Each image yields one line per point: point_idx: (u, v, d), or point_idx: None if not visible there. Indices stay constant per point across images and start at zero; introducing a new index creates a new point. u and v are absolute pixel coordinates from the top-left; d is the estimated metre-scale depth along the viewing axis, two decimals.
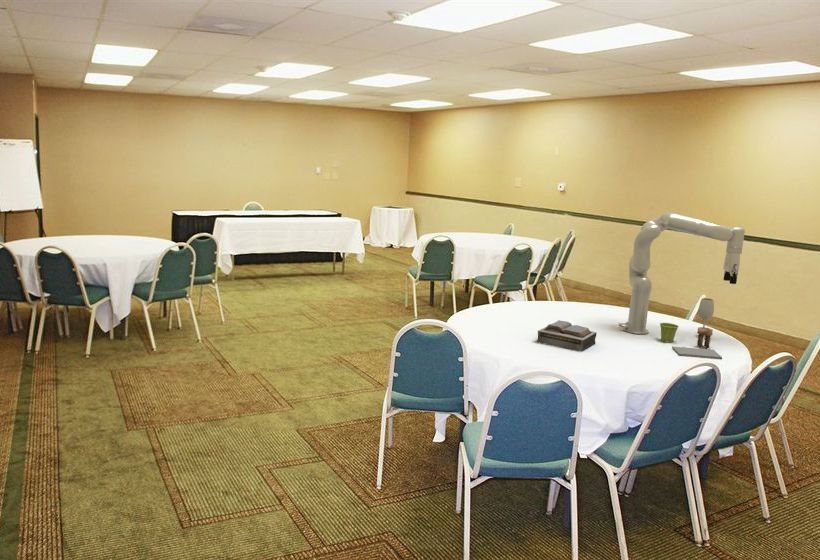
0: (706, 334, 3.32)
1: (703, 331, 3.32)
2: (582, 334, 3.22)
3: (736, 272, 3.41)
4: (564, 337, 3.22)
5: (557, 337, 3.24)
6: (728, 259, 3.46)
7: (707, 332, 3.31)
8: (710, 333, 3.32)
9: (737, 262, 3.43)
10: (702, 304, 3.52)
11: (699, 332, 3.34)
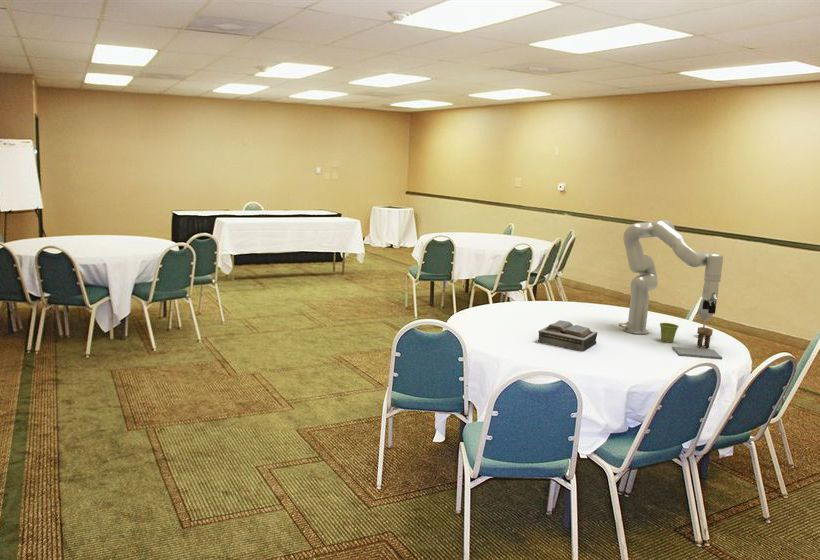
0: (706, 334, 3.32)
1: (703, 331, 3.32)
2: (583, 334, 3.22)
3: (715, 301, 3.24)
4: (565, 337, 3.22)
5: (558, 337, 3.24)
6: (706, 287, 3.29)
7: (707, 332, 3.31)
8: (710, 333, 3.32)
9: (716, 291, 3.26)
10: (702, 304, 3.52)
11: (699, 332, 3.34)
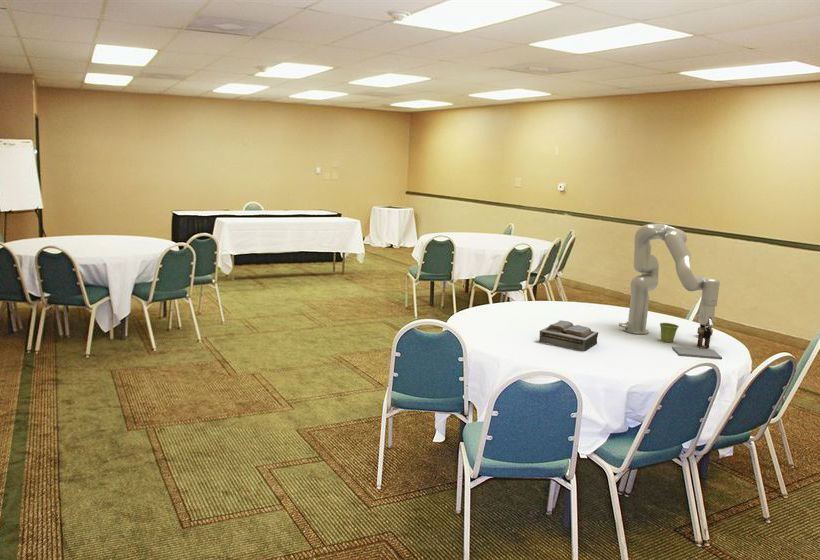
0: None
1: (703, 331, 3.32)
2: (584, 334, 3.22)
3: (710, 327, 3.27)
4: (566, 337, 3.22)
5: (559, 337, 3.24)
6: (703, 312, 3.32)
7: None
8: None
9: (712, 315, 3.28)
10: None
11: (699, 332, 3.34)
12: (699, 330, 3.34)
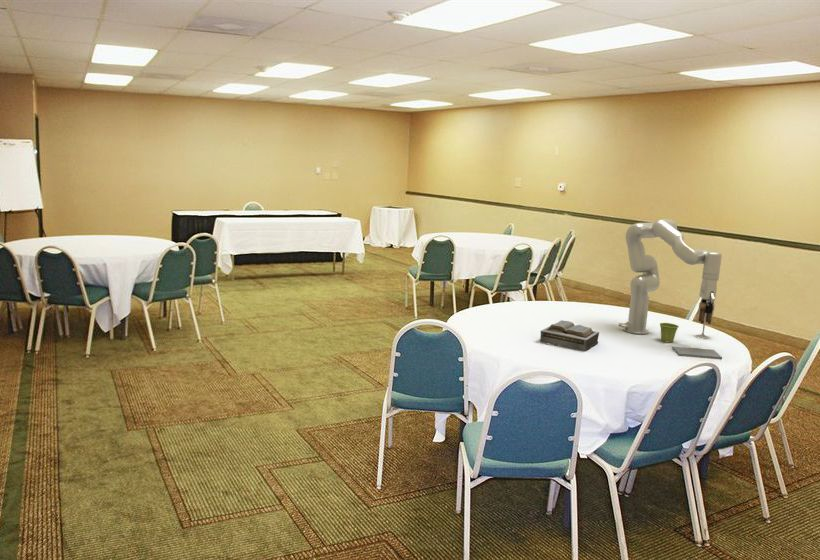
0: None
1: (705, 306, 3.25)
2: (585, 334, 3.23)
3: (712, 302, 3.20)
4: (567, 337, 3.22)
5: (560, 337, 3.24)
6: (704, 286, 3.24)
7: None
8: None
9: (714, 289, 3.21)
10: None
11: (701, 307, 3.27)
12: (701, 305, 3.27)
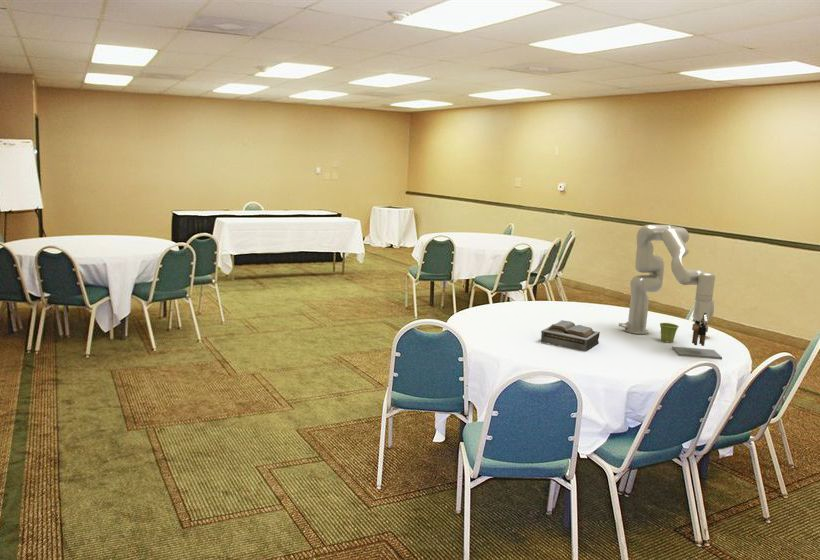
0: None
1: (698, 327, 3.18)
2: (586, 334, 3.23)
3: (705, 323, 3.14)
4: (568, 337, 3.22)
5: (561, 337, 3.24)
6: (697, 307, 3.18)
7: None
8: None
9: (707, 311, 3.15)
10: None
11: (694, 329, 3.20)
12: (694, 326, 3.20)
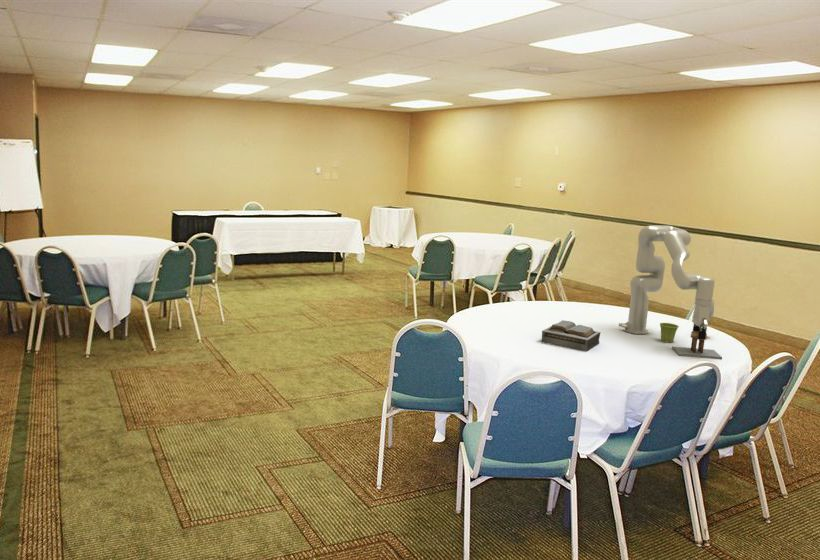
0: None
1: (697, 335, 3.19)
2: (586, 334, 3.23)
3: (705, 327, 3.13)
4: (568, 337, 3.22)
5: (562, 337, 3.24)
6: (697, 312, 3.18)
7: None
8: None
9: (706, 316, 3.15)
10: None
11: (693, 336, 3.21)
12: (693, 334, 3.21)
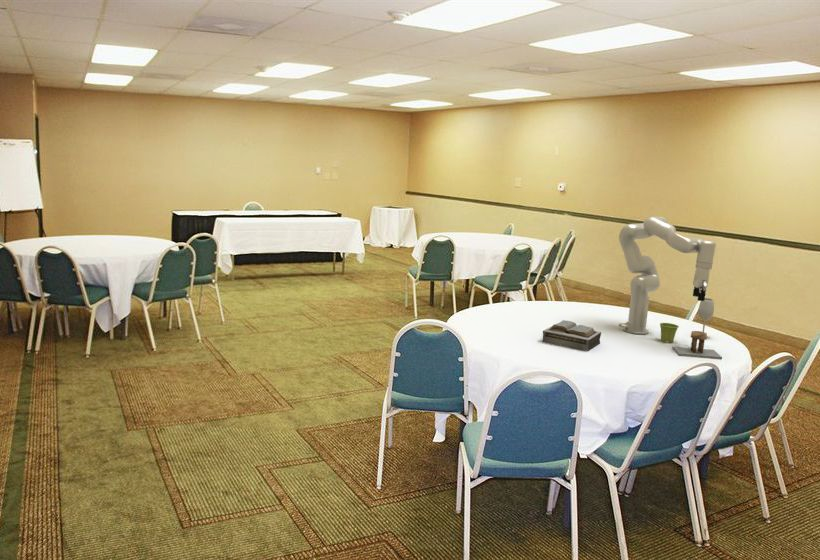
0: (700, 338, 3.19)
1: (697, 335, 3.19)
2: (587, 334, 3.23)
3: (704, 289, 3.21)
4: (569, 337, 3.23)
5: (563, 337, 3.24)
6: (697, 274, 3.27)
7: (701, 336, 3.19)
8: (704, 337, 3.19)
9: (706, 278, 3.23)
10: (702, 304, 3.52)
11: (693, 336, 3.21)
12: (693, 334, 3.21)
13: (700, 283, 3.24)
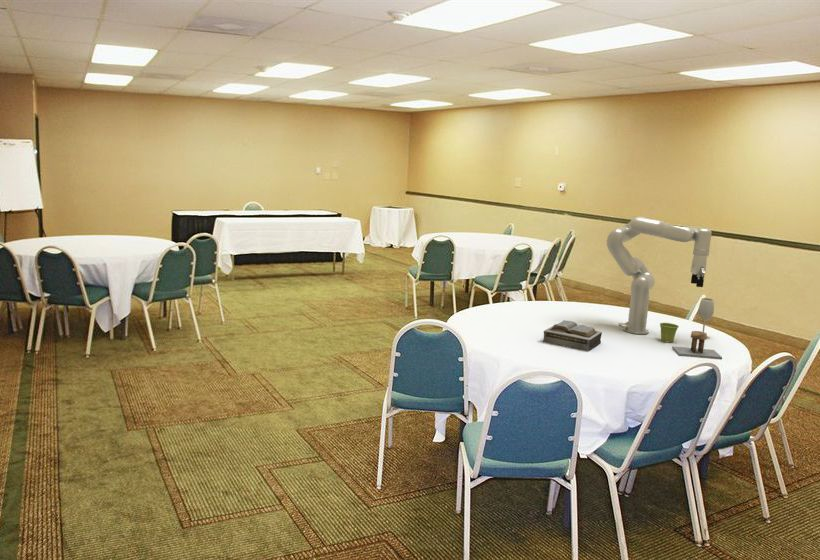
0: (700, 338, 3.19)
1: (697, 335, 3.19)
2: (588, 334, 3.23)
3: (702, 275, 3.32)
4: (570, 337, 3.23)
5: (563, 337, 3.24)
6: (695, 261, 3.38)
7: (701, 336, 3.19)
8: (704, 337, 3.19)
9: (704, 265, 3.34)
10: (702, 304, 3.52)
11: (693, 336, 3.21)
12: (693, 334, 3.21)
13: (698, 270, 3.35)
